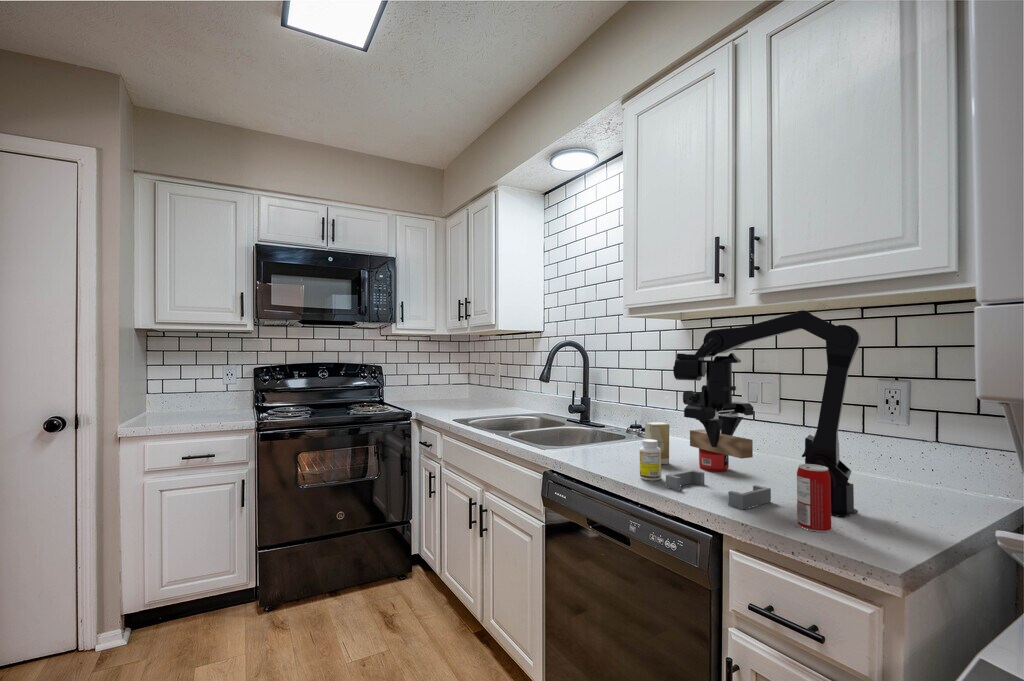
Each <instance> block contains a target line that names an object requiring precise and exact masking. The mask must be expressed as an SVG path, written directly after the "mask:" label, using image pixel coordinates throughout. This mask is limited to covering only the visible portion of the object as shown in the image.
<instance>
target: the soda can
mask: <svg viewBox="0 0 1024 681" xmlns="http://www.w3.org/2000/svg"><path fill="white" fill-rule="evenodd" d="M796 507H797V509H796V510H797V511H796V512H797V513H796V514H797V515H796V516H797V518H796V519H797V525H799V526H801V527H803V528H805V529H808V530H811V531H817V532H816V533H819V532H825V533H828V532H829V531H831V530H832V514H831V477H830V473H829V470H828V468H827V467H825V466H821V465H815V464H805V463H802V464H801V463H800V464H798V467H797V470H796ZM801 527H800V528H801ZM803 528H802V529H803ZM805 529H804V530H805ZM808 530H807V531H808ZM811 531H810V532H811ZM827 531H828V532H827Z"/></svg>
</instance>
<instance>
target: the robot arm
mask: <svg viewBox="0 0 1024 681" xmlns="http://www.w3.org/2000/svg"><path fill="white" fill-rule="evenodd" d="M800 330H804V331H806V332H808V333H810V334H812V335H814V336H816V337H817V338H820V339H822V340H824V341H825V352H826V353H825V354H826V364H827V369H826V376H825V379H824V380H825V381H824V387H823V393H822V398H821V403H820V410H819V416H818V422H817V428H816V432H815V433H814V435H811V434H808V436H806V437H805V439H804V451H803V453H802V455H801V458H804V464H815V465H821V466H825V467H827V468H828V470H829V473H830V477H831V516H836V517H840V518H845V517H848V516H851V515H854V514H856V513H857V514H858V512H859V511H858V509H856V508H855V499H854V496H855V495H854V491H855V490H854V483H850V482H849V480H850V476H851V474H852V470H851V469H850V467H848V466H847V465H846V464H845V463H843V462H842V460H841V459H840V441H839V440H840V439H839V428H840V423H841V416H842V411H843V405H844V404H843V403H844V398H845V393H846V386H847V381H848V376H849V371H850V368H851V366H852V363H853V361H854V359H855V357H856V354H857V352H858V349H859V347H860V344H861V340H862V338H861V335H860V332H859V331H858V330H857V329H855V328H854V327H852V326H850V325H847V324H839V325H835V324H833V323H831V322H829V321H826V320H824V319H822V318H820V317H818V316H817V315H813V313H812V312H810V311H807V310H804V309H803V310H797V311H795V312H794V313H793V312H792V313H789V314H787V315H782V316H779V317H774V318H772V319H767V320H764V321H760V322H756V323H753V324H750V325H745V326H742V327H729V328H728V327H727V328H719V329H717V328H716V329H711V330H709V331H707V332H706V333H705V335H704V338H703V343H702V344H701V346H700V347H699V348H698V350H697V351H696V352H695V353H694V354H693V353H692V354H691V353H685V352H684V353H681V352H680V353H676V359H675V361H674V365H673V368H672V369H673V371H672V372H673V377H674V379H675V380H676V381H693V382H694V381H697V382H698V381H701V380H702V377H703V378H704V377H705V376H706V385H705V384H704V385H702V386H701V391H699V392H694V391H693V390H686V391H684V392H682V393H683V394H682V403H683V404H684V405H686V406H685V407H684V408H683V417H684V418H688V419H694V420H696V421H698V422H700V423H701V424H702V426H703V427H704V428H703V429H705V430H706V432H707V435H708V438H709V441H710V443H711V446H712V447H716V446H717V443H718V440H719V435H720V431H721V434H726V435H731V436H734V434H735V431H736V430H737V428H738V426H739V425H740V423H741V422H742V420H744V417H743V416H739V414H741V415H744V416H754V406H753V405H752V404H751V403H750V402H740V401H733V391H736V390H737V386H736V385H733V376H732V375H733V371H732V370H733V369H732V367H733V366H732V365H733V364H740V363H742V359H740V358H739V357H737V355H736V354H735V353H734V352H732V351H734V350H737V349H738V348H740V347H742V346H744V345H747V344H749V343H751V342H755V341H759V340H763V339H767V338H771V337H775V336H780V335H783V334H787V333H791V332H795V331H800ZM728 352H730V353H729V354H728V355H718V354H726V353H728ZM705 358H713V360H712V359H711V360H707V359H705Z"/></svg>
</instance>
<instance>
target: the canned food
mask: <svg viewBox="0 0 1024 681" xmlns="http://www.w3.org/2000/svg"><path fill="white" fill-rule="evenodd" d="M700 430H705V428H702V429H700ZM705 431H706V430H705ZM720 433H721V431H720ZM729 457H730V456H729V455H725V454H720V453H716V452H712V451H708V450H704V449H700V448H698V465H699V468H700V469H701V470H704V471H706V472H717V473H719V472H720V473H721V472H722V473H724V472H727V471H728V470H729V467H730V465H729V463H730V462H729Z"/></svg>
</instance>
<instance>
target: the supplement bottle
mask: <svg viewBox="0 0 1024 681" xmlns="http://www.w3.org/2000/svg"><path fill="white" fill-rule="evenodd" d="M641 443H642V444H641V445H642V446H640V448H639V477H640V478H641V479H642V480H644V481H645V480H646V481H649V480H650V481H652V482H656V481H659V480H661V479H662V464H661V449H660V448H659V447H658V441H657V440H653V439H645V438H644V439H642V442H641Z"/></svg>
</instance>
